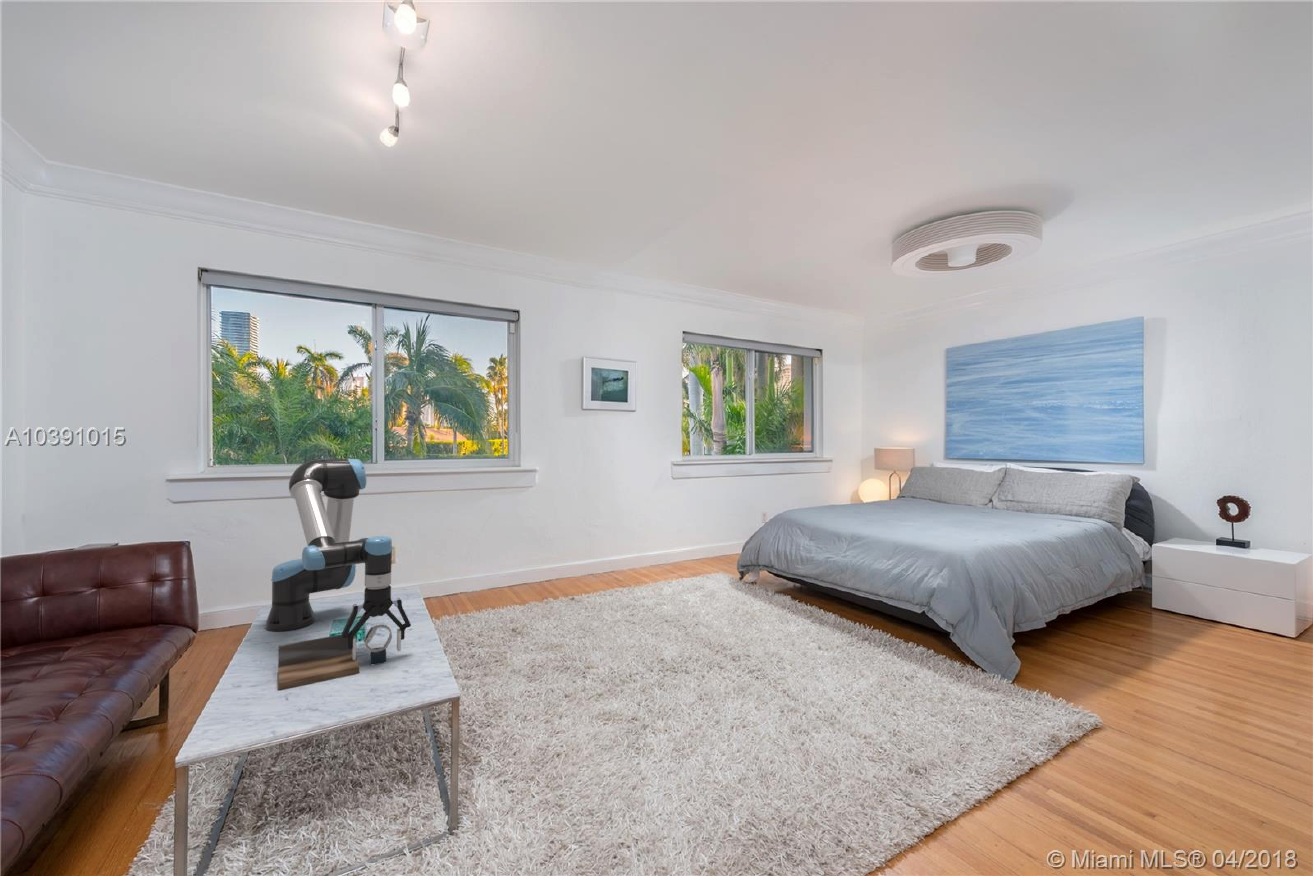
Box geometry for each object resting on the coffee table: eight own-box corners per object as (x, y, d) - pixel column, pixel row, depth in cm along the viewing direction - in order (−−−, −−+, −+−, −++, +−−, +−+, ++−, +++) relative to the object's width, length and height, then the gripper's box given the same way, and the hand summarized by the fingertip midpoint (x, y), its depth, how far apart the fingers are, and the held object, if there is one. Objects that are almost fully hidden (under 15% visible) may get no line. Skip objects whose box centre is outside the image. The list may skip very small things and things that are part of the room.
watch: (363, 659, 175) (363, 625, 175) (391, 655, 178) (391, 621, 178) (363, 666, 170) (363, 631, 170) (392, 661, 174) (392, 627, 173)
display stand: (278, 672, 165) (278, 645, 165) (353, 657, 176) (353, 632, 176) (278, 690, 154) (278, 661, 153) (359, 673, 165) (359, 646, 165)
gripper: (334, 594, 164) (333, 666, 164) (421, 583, 178) (420, 650, 178) (332, 588, 170) (331, 658, 170) (416, 578, 184) (415, 642, 184)
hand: (376, 654), depth 174 cm, fingers open, 12 cm apart
